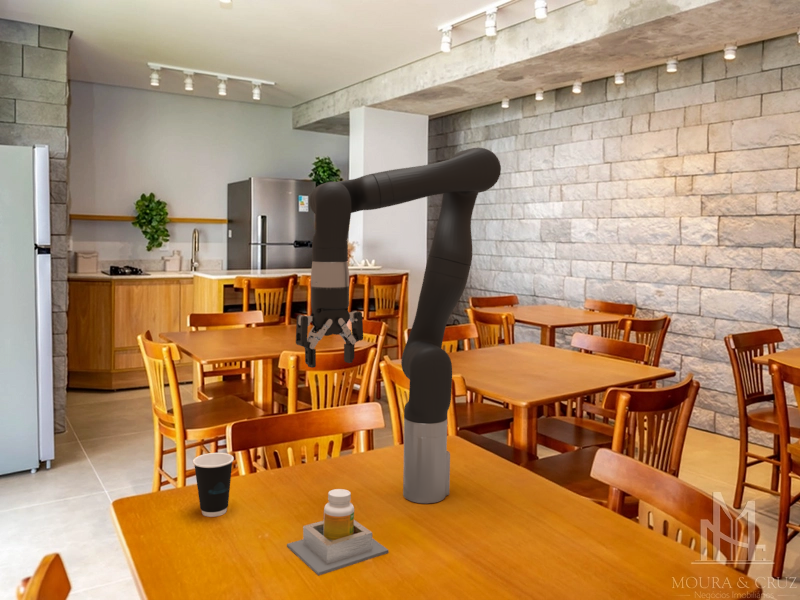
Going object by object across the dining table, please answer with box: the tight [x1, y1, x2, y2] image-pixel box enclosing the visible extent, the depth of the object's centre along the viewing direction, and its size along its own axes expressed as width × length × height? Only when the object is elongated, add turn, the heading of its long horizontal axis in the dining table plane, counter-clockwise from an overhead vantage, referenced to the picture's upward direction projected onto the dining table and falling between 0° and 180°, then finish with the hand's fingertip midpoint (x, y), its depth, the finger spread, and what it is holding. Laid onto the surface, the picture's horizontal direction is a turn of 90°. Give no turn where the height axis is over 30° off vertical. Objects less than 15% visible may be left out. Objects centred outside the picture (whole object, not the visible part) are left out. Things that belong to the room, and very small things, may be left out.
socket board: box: [286, 519, 389, 576], centre depth 118 cm, size 14×12×4 cm
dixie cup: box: [192, 452, 235, 518], centre depth 133 cm, size 8×8×11 cm
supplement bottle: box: [323, 488, 355, 541], centre depth 118 cm, size 5×5×10 cm
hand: (330, 364), depth 133 cm, fingers open, 8 cm apart
